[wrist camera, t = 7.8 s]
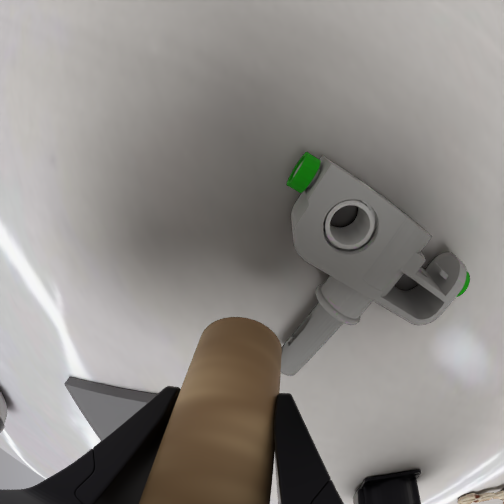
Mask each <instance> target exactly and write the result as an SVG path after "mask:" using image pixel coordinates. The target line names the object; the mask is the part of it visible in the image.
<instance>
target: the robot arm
mask: <svg viewBox="0 0 504 504" xmlns="http://www.w3.org/2000/svg"><path fill="white" fill-rule="evenodd" d="M180 390H181V389H180V388H179V387H173V386H167V387H165V388H164V389H163V390H162V391H161V392H160V393H158V394H157V395H156V396H155V397H154V398H153V399H151V400H150V401H149V402H148V403H147V404H146V405H144V406H143V407H142V408H141V409H140V410H139V411H137V412H136V413H135V414H134V415H133V416H131V417H130V418H129V419H128V420H127V421H125V422H124V423H123V424H122V425H121V426H119V427H118V428H117V429H116V430H114V431H113V432H112V433H111V434H110V435H108V436H107V437H106V438H105V439H103V440H102V441H101V442H100V443H99V444H97V445H96V446H95V447H94V448H93V449H91V450H90V451H88V452H87V453H86V454H85V455H83V456H82V457H81V458H79V459H78V460H77V461H75V462H74V463H72V464H71V465H69V466H68V467H66V468H65V469H63V470H61V471H60V472H58V473H56V474H55V475H53V476H51V477H50V478H48V479H46V480H44V481H43V482H41V483H39V484H37V485H35V486H33V487H30V488H27V489H21V490H0V504H139V502H140V499H141V496H142V493H143V490H144V488H145V485H146V482H147V479H148V477H149V474H150V471H151V468H152V466H153V463H154V460H155V457H156V455H157V452H158V449H159V446H160V444H161V441H162V438H163V436H164V433H165V430H166V427H167V425H168V422H169V419H170V417H171V414H172V411H173V409H174V406H175V403H176V401H177V398H178V395H179V393H180ZM274 442H275V467H276V480H277V493H278V504H344V503H343V501H342V499H341V498H340V496H339V494H338V492H337V490H336V488H335V486H334V484H333V482H332V480H330V479H331V478H330V476H329V474H328V472H327V470H326V468H325V466H324V463H323V461H322V459H321V457H320V455H319V453H318V451H317V449H316V447H315V444H314V442H313V440H312V438H311V436H310V434H309V432H308V429H307V427H306V425H305V423H304V421H303V419H302V416H301V414H300V412H299V410H298V408H297V406H296V403H295V401H294V399H293V397H292V395H291V394H289V393H279V394H277V399H276V409H275V419H274ZM420 474H421V470H420V469H418V470H413V471H408V472H403V473H397V474H391V475H385V476H378V477H370V478H366V479H365V480H364V481H363V483H362V485H361V487H360V488H359V489H358V490H357V492H356V494H355V495H354V497H353V501H354V504H421V502H420V496H419V491H418V485H417V480H416V479H417V478H418V477H419V475H420Z"/></svg>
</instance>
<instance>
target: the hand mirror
mask: <svg viewBox="0 0 504 504" xmlns="http://www.w3.org/2000/svg"><path fill="white" fill-rule="evenodd" d="M492 498H493V499H500V500H503V504H504V490H502V491H499V492H497V493H494V492H493V493H483V494H475V493H469V494H466V495H463V496H461V497H460V498H459V499H458V504H470V503H472V502H476V503H477V502H481V501H486V500H490V499H492Z"/></svg>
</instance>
